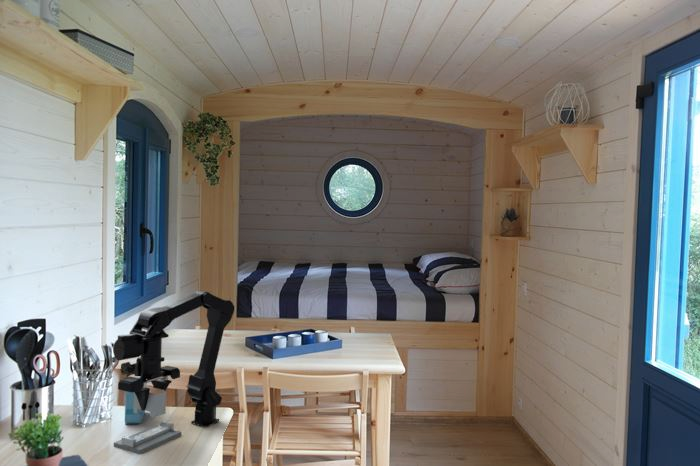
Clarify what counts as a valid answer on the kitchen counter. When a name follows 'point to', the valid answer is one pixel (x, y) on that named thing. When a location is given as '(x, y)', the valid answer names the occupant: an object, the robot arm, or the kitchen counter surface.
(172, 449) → the kitchen counter surface
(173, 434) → the rail mount
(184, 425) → the kitchen counter surface
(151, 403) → the rail module
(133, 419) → the blue block
